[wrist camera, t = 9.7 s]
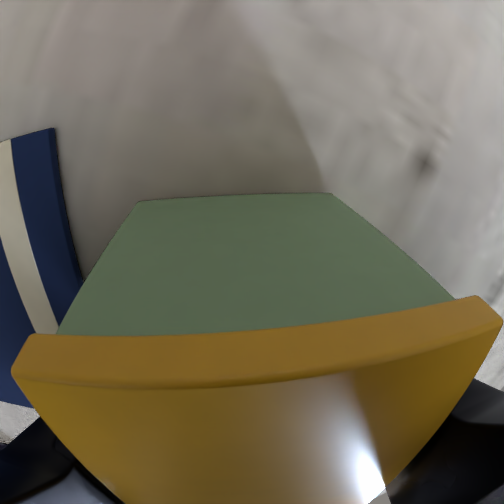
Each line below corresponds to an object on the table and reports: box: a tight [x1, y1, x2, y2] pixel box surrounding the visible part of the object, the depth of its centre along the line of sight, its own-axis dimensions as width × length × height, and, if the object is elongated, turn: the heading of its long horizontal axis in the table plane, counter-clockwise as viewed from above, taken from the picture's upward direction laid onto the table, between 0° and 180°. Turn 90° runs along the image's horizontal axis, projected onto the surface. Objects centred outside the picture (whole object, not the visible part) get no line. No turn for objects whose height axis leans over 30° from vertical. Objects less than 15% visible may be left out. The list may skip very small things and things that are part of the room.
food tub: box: [11, 193, 503, 504], centre depth 7 cm, size 8×6×6 cm
